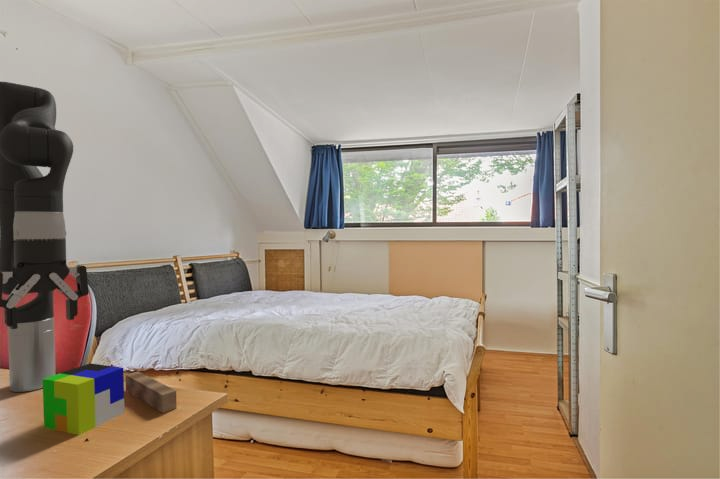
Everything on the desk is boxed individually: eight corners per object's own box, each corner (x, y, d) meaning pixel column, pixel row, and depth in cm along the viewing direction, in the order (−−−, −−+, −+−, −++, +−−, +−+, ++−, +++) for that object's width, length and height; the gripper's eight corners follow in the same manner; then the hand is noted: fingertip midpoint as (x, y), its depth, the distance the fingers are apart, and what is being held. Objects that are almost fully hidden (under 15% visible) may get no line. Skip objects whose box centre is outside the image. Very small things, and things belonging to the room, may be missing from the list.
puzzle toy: (124, 413, 88) (123, 367, 87) (79, 435, 78) (77, 384, 78) (91, 407, 91) (90, 363, 91) (44, 427, 81) (42, 379, 81)
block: (125, 390, 100) (125, 374, 100) (138, 386, 102) (138, 371, 102) (162, 413, 87) (162, 395, 87) (176, 408, 89) (176, 390, 89)
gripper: (78, 235, 82) (80, 314, 83) (-16, 237, 71) (-13, 328, 71) (92, 236, 77) (94, 319, 78) (-7, 238, 66) (-4, 335, 67)
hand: (43, 323), depth 75 cm, fingers open, 8 cm apart
